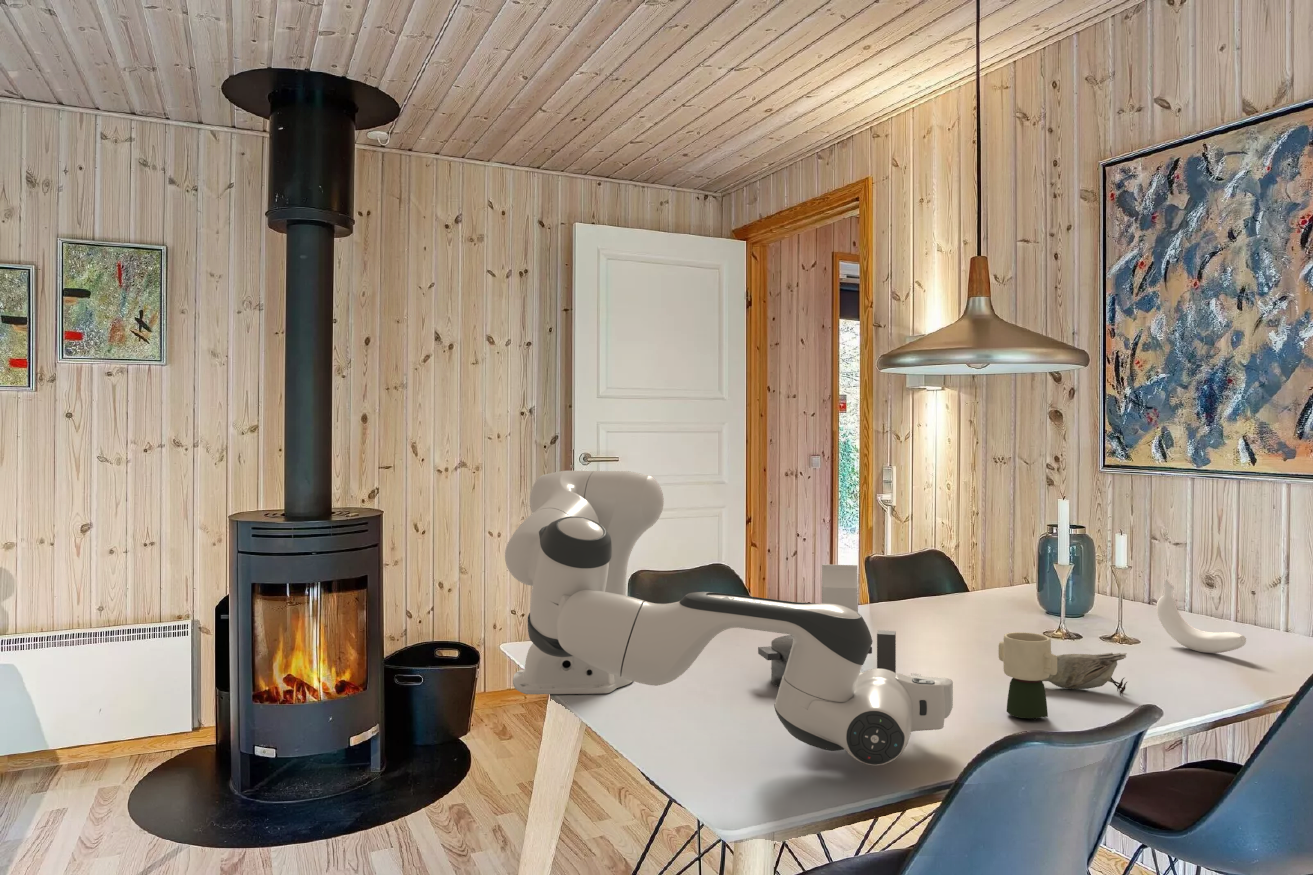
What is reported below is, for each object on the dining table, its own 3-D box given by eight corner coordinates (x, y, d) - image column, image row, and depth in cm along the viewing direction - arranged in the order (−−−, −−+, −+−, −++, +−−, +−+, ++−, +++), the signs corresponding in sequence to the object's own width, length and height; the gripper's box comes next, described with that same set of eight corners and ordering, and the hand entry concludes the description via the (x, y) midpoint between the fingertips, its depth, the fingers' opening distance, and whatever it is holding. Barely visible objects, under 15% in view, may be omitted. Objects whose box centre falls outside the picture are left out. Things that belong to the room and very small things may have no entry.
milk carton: (858, 663, 177) (857, 568, 176) (821, 661, 178) (821, 567, 178) (857, 654, 184) (857, 562, 183) (822, 652, 185) (822, 561, 185)
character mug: (1071, 723, 140) (1071, 641, 140) (1041, 730, 136) (1041, 646, 136) (1013, 704, 149) (1013, 627, 149) (984, 711, 146) (984, 632, 146)
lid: (929, 718, 143) (929, 644, 143) (841, 711, 147) (841, 639, 147) (928, 694, 156) (928, 626, 156) (847, 687, 160) (847, 621, 160)
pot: (779, 698, 153) (779, 658, 153) (748, 673, 169) (748, 637, 169) (886, 690, 158) (886, 650, 158) (846, 667, 174) (846, 631, 173)
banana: (1242, 664, 175) (1242, 590, 175) (1150, 643, 192) (1150, 576, 192) (1256, 661, 177) (1256, 588, 177) (1163, 641, 194) (1164, 574, 194)
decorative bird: (1026, 683, 163) (1026, 642, 163) (1124, 691, 158) (1124, 649, 158) (1028, 691, 158) (1028, 649, 158) (1129, 700, 153) (1129, 657, 153)
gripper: (807, 717, 129) (818, 691, 142) (954, 730, 123) (951, 701, 137) (807, 674, 129) (817, 651, 142) (954, 685, 123) (951, 660, 137)
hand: (884, 676), depth 139 cm, fingers open, 8 cm apart
